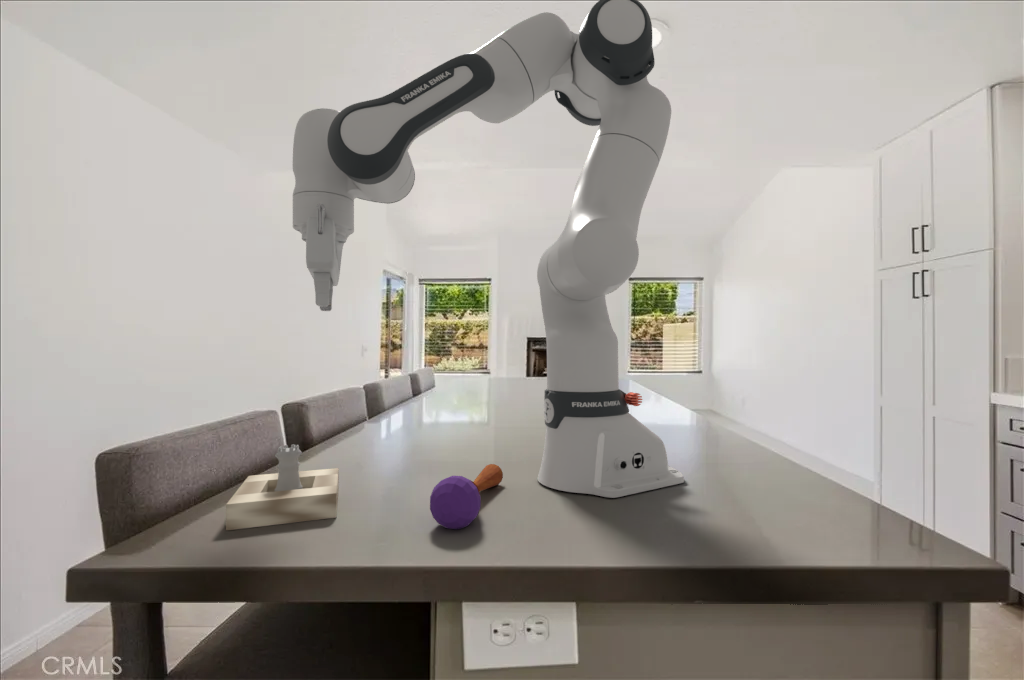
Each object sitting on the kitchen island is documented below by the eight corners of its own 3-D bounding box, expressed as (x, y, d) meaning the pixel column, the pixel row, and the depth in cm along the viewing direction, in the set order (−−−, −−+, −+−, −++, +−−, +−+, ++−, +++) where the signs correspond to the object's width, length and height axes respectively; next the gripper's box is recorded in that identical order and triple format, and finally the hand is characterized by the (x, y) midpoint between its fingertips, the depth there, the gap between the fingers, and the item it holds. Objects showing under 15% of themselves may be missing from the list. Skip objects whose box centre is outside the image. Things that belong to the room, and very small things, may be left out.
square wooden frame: (338, 488, 71) (338, 468, 71) (336, 517, 59) (336, 493, 59) (248, 496, 67) (248, 475, 67) (226, 530, 55) (226, 504, 55)
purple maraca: (514, 460, 72) (476, 488, 52) (507, 499, 72) (466, 542, 52) (477, 451, 73) (427, 475, 54) (470, 489, 73) (416, 528, 54)
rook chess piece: (291, 514, 60) (290, 450, 60) (261, 511, 61) (261, 449, 61) (314, 502, 65) (314, 443, 65) (286, 500, 66) (286, 442, 66)
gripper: (344, 201, 64) (345, 303, 64) (346, 235, 84) (346, 313, 84) (294, 197, 62) (294, 302, 62) (307, 232, 82) (307, 312, 82)
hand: (324, 308), depth 73 cm, fingers open, 8 cm apart
